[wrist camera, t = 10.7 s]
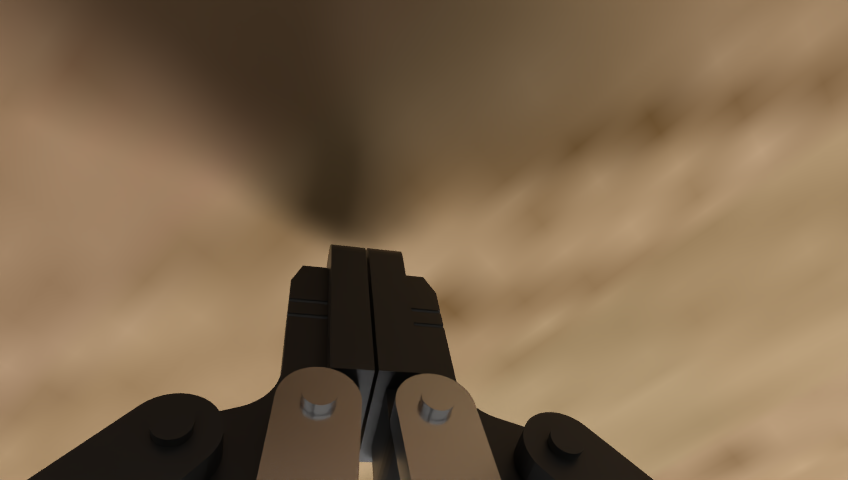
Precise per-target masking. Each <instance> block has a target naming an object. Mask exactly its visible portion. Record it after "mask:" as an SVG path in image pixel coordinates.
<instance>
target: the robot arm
mask: <svg viewBox="0 0 848 480" xmlns="http://www.w3.org/2000/svg"><path fill="white" fill-rule="evenodd" d="M359 462H372V465H373V480H653V479H652V478H651V477H649V476H648V475H647V474H646V473H644V472H643V471H642V470H640V469H639V468H638V467H637V466H635V465H634V464H633V463H632V462H630V461H629V460H628V459H626V458H625V457H624V456H623V455H621V454H620V453H619V452H618V451H616V450H615V449H614V448H613V447H611V446H610V445H609V444H607V443H606V442H605V441H604V440H602V439H601V438H600V437H599V436H597V435H596V434H595V433H593V432H592V431H591V430H590V429H588V428H587V427H586V426H585V425H583V424H582V423H580V422H579V421H577V420H575V419H573V418H571V417H569V416H566V415H563V414H560V413H554V412H545V413H540V414H537V415H535V416H533V417H532V418H530V419H529V420H528V421H527V423H526V425H525V427H523V426H520V425H517V424H514V423H511V422H508V421H505V420H501V419H498V418H495V417H493V416H490V415H488V414H486V413H484V412H482V411H481V410H479V409H478V408H476V405H475V403H474V401H473V398H472V397H471V395H470V394H469V392H468V391H467V390H466V389H465V388H464V387H463V386H461V385H460V384H459V383H457V382H456V378H455V374H454V369H453V365H452V361H451V356H450V352H449V348H448V343H447V339H446V335H445V330H444V328H443V322H442V318H441V314H440V309H439V305H438V300H437V296H436V293H435V291H434V290H433V289H432V288H431V287H430V285H429V284H428V283H427V282H426V280H425V279H424V278H423V277H416V276H406V274H405V268H404V262H403V256H402V253H401V252H398V251H389V250H379V249H370V248H367V250H365V248H359V247H350V246H341V245H330V249H329V255H328V262H327V268H322V267H312V266H302V268H301V269H300V270H299V271H298V272H297V274H296V275H295V276H294V277H293V278H292V280H291V286H290V294H289V303H288V312H287V320H286V329H285V338H284V347H283V357H282V366H281V375H280V378H279V380H278V382H277V384H276V385H275V387H274V388H273V389H272V390H271V391H270V392H269V393H268V394H267V395H265V396H264V397H262V398H261V399H259V400H257V401H255V402H253V403H250V404H248V405H244V406H241V407H237V408H232V409H228V410H223V411H219V410H218V409H217V407H216V406H215V405H214V404H212V403H211V402H210V401H208V400H206V399H205V398H202V397H199V396H196V395H192V394H184V393H176V394H167V395H162V396H159V397H155V398H153V399H151V400H148V401H146V402H144V403H143V404H141V405H139V406H138V407H136V408H135V409H133V410H132V411H130V412H129V413H127V414H126V415H124V416H123V417H121V418H120V419H118V420H117V421H115V422H114V423H112V424H111V425H109V426H108V427H106V428H105V429H103V430H102V431H100V432H99V433H97V434H95V435H94V436H92V437H91V438H89V439H88V440H86V441H85V442H83V443H82V444H80V445H79V446H77V447H76V448H74V449H73V450H71V451H70V452H68V453H67V454H65V455H64V456H62V457H61V458H59V459H58V460H56V461H55V462H53V463H52V464H50V465H49V466H47V467H46V468H44V469H43V470H41V471H40V472H38V473H37V474H35V475H34V476H32V477H31V478H29V479H28V480H358V477H359Z"/></svg>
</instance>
